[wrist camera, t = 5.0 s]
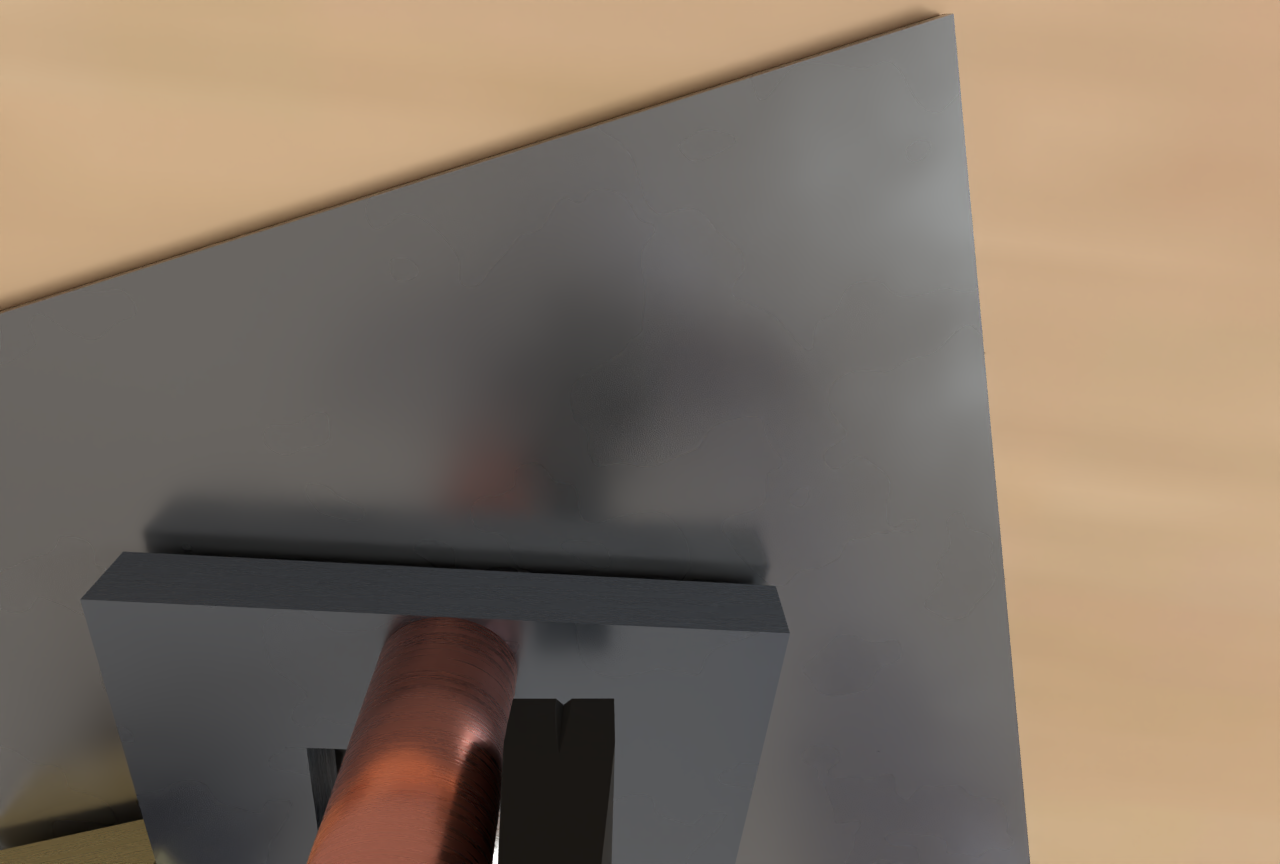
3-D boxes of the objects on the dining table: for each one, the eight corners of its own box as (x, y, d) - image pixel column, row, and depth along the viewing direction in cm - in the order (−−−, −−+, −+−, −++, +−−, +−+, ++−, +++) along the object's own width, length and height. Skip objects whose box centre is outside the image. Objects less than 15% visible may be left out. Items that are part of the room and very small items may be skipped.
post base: (1033, 948, 20) (1105, 1105, 17) (247, 1106, 22) (193, 1269, 19) (944, 13, 10) (1079, 13, 7) (-464, 457, 12) (-793, 593, 9)
